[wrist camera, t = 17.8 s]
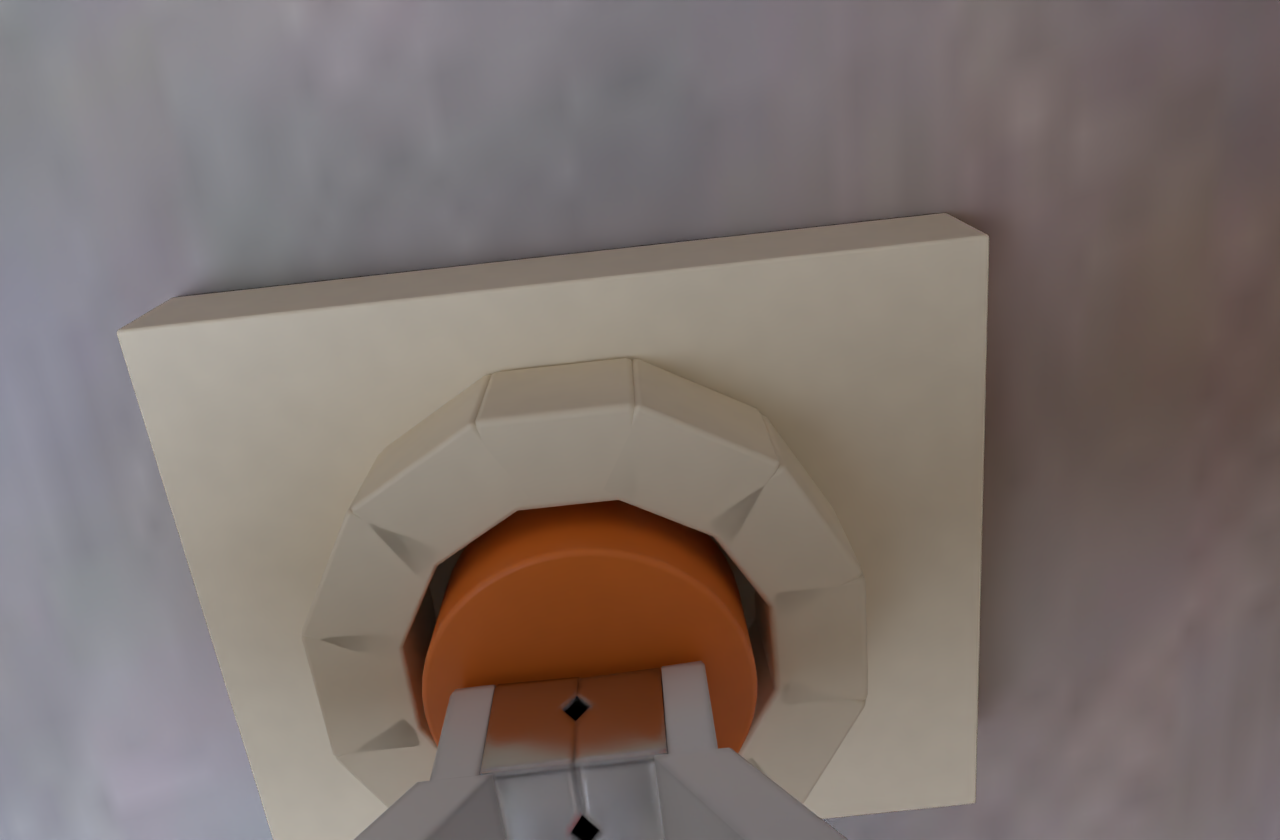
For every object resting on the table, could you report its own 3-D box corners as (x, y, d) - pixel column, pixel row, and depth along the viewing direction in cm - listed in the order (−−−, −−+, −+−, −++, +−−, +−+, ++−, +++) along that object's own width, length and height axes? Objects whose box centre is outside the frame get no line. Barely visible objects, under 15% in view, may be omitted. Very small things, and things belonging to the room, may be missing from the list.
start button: (730, 468, 13) (747, 533, 11) (750, 724, 14) (768, 814, 12) (418, 502, 13) (390, 570, 11) (470, 752, 14) (453, 847, 12)
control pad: (947, 211, 14) (1051, 266, 11) (942, 733, 17) (1021, 898, 14) (170, 296, 14) (35, 376, 11) (312, 798, 17) (243, 976, 14)
